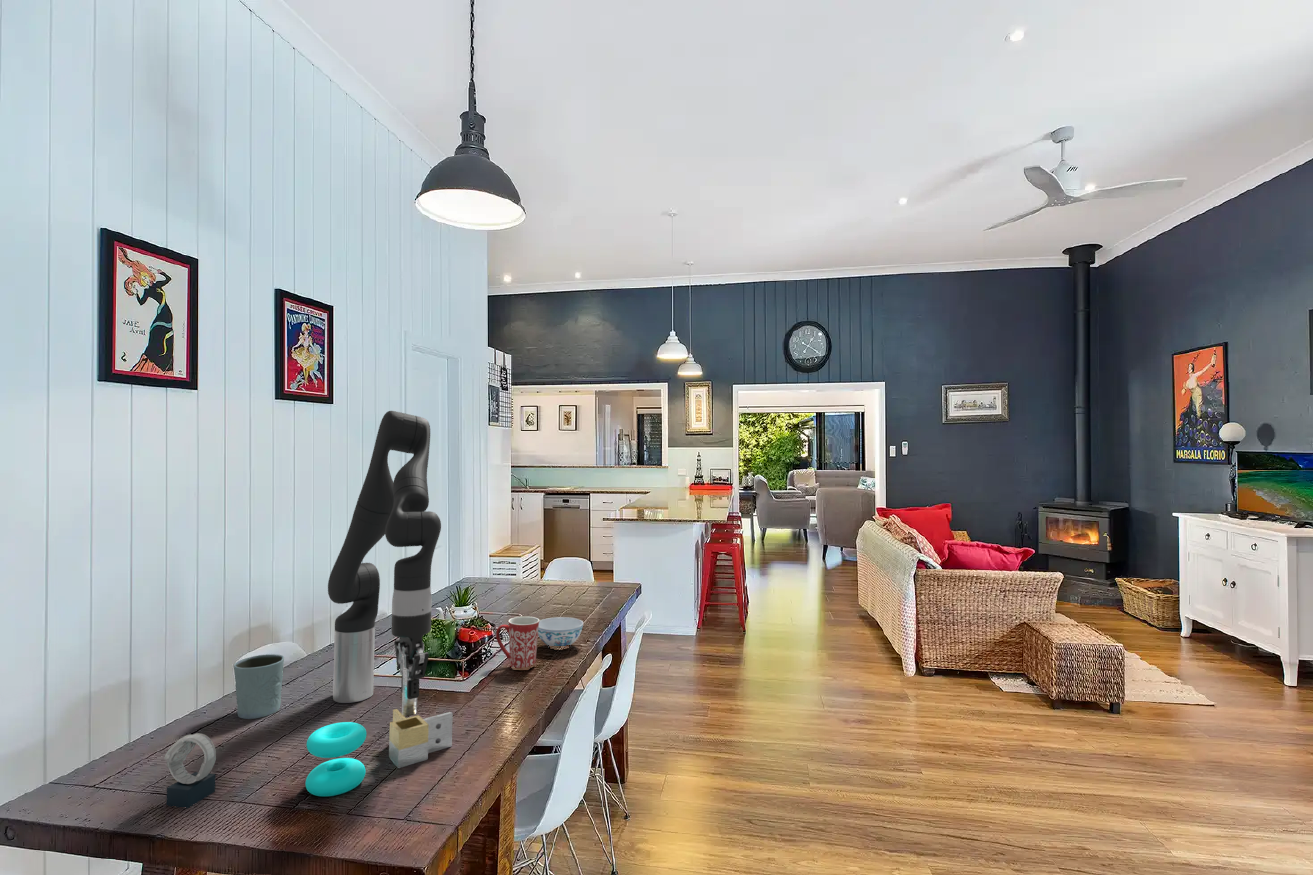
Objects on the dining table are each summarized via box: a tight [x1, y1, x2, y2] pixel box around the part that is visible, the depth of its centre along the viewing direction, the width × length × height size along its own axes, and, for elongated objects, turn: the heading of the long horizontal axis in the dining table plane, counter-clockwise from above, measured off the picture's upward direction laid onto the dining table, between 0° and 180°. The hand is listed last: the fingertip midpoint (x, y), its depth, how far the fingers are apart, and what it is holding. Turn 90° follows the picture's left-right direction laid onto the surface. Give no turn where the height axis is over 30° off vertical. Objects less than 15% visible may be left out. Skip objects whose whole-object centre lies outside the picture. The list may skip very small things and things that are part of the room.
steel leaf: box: [388, 711, 453, 769], centre depth 129 cm, size 6×12×7 cm, turn 130°
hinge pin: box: [401, 654, 418, 717], centre depth 128 cm, size 3×3×12 cm
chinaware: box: [538, 616, 584, 647], centre depth 201 cm, size 15×15×8 cm
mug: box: [495, 616, 541, 668], centre depth 183 cm, size 13×9×14 cm
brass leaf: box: [388, 708, 429, 750], centre depth 130 cm, size 12×6×7 cm, turn 40°
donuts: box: [304, 721, 368, 797], centre depth 117 cm, size 10×10×10 cm
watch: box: [164, 732, 217, 809], centre depth 112 cm, size 6×8×11 cm
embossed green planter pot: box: [233, 653, 285, 720], centre depth 149 cm, size 10×10×12 cm
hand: (409, 694), depth 128 cm, fingers closed on hinge pin, 2 cm apart
